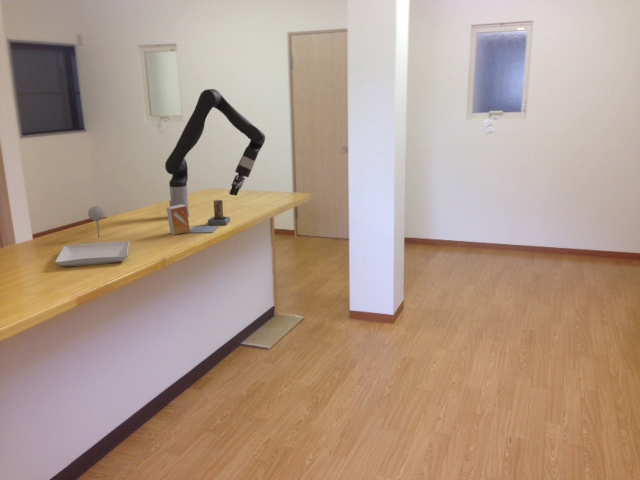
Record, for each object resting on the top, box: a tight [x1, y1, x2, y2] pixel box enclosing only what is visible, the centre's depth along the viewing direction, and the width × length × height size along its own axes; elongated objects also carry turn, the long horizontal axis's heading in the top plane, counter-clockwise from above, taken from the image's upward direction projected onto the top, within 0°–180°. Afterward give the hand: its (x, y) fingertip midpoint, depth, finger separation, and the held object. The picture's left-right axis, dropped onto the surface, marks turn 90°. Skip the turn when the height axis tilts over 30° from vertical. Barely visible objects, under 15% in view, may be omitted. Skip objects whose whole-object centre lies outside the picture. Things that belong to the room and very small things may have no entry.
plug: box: [213, 199, 224, 220], centre depth 293 cm, size 5×5×12 cm
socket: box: [207, 216, 231, 226], centre depth 295 cm, size 9×9×2 cm
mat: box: [187, 225, 219, 234], centre depth 280 cm, size 12×12×1 cm
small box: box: [166, 204, 191, 236], centre depth 273 cm, size 8×6×13 cm
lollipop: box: [87, 205, 105, 238], centre depth 267 cm, size 7×7×15 cm
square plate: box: [54, 240, 131, 267], centre depth 233 cm, size 27×27×4 cm
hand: (232, 194), depth 293 cm, fingers open, 8 cm apart
